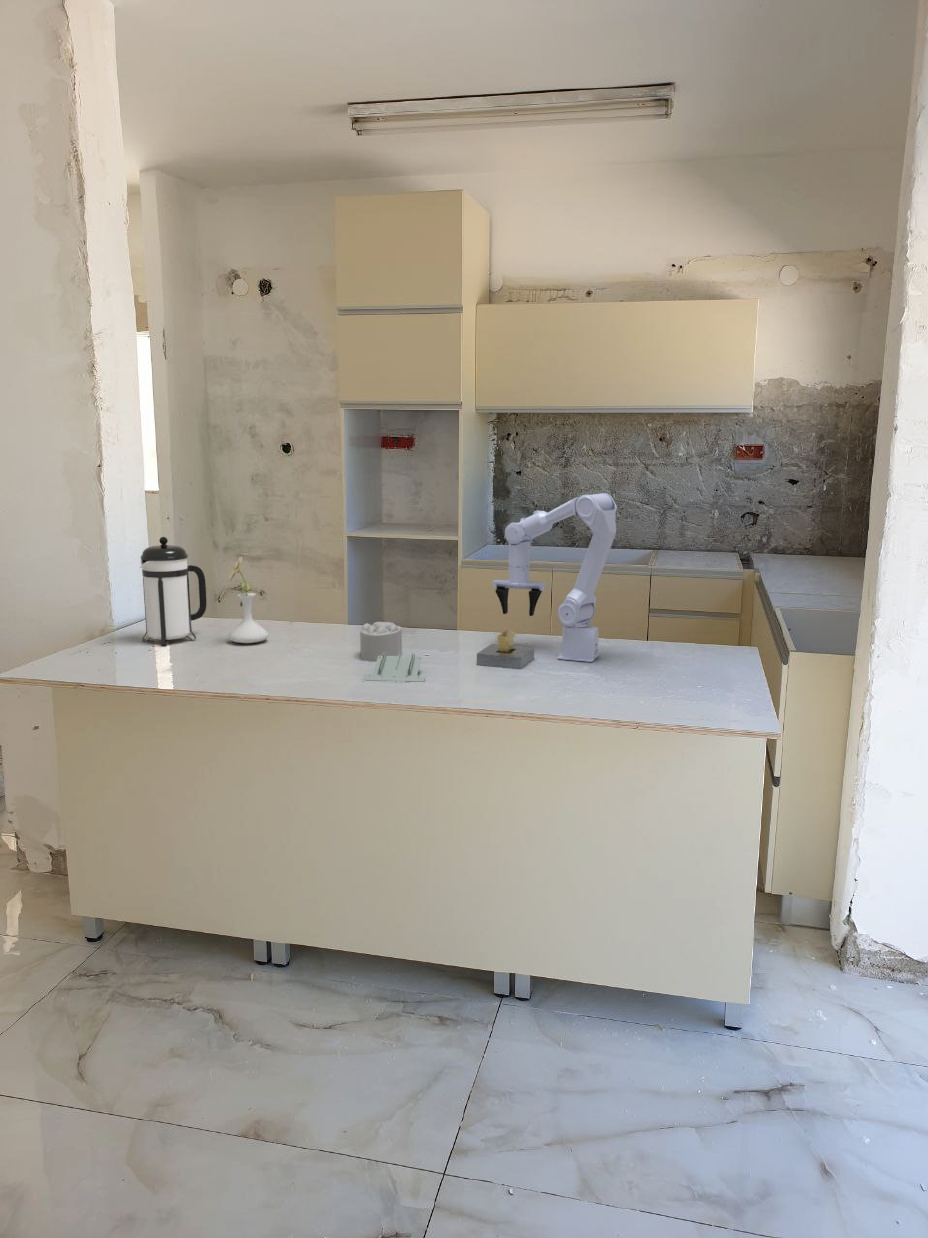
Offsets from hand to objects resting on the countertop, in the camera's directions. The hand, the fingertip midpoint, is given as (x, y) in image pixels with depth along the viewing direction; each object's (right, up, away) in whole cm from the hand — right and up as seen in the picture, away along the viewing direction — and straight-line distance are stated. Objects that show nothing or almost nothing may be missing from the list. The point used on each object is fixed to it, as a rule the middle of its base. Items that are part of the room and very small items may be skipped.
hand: (518, 614), depth 258 cm
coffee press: (-99, -8, +10) cm, 100 cm away
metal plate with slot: (-4, -12, -14) cm, 20 cm away
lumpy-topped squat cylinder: (-38, -11, -8) cm, 40 cm away
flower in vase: (-77, -8, +7) cm, 78 cm away
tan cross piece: (-4, -13, -14) cm, 19 cm away
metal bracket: (-32, -16, -28) cm, 45 cm away
